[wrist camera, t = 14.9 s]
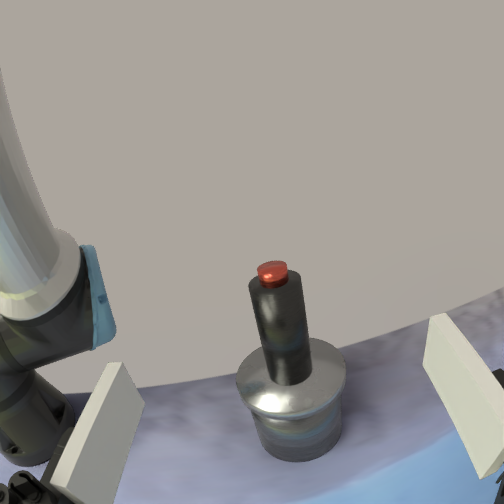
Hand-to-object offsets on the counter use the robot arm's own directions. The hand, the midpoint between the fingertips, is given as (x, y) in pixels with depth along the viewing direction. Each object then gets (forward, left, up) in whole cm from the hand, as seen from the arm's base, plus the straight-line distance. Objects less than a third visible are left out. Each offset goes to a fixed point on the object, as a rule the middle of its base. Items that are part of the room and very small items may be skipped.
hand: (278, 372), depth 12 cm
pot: (-6, +11, -21) cm, 24 cm away
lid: (-6, +10, -12) cm, 17 cm away
